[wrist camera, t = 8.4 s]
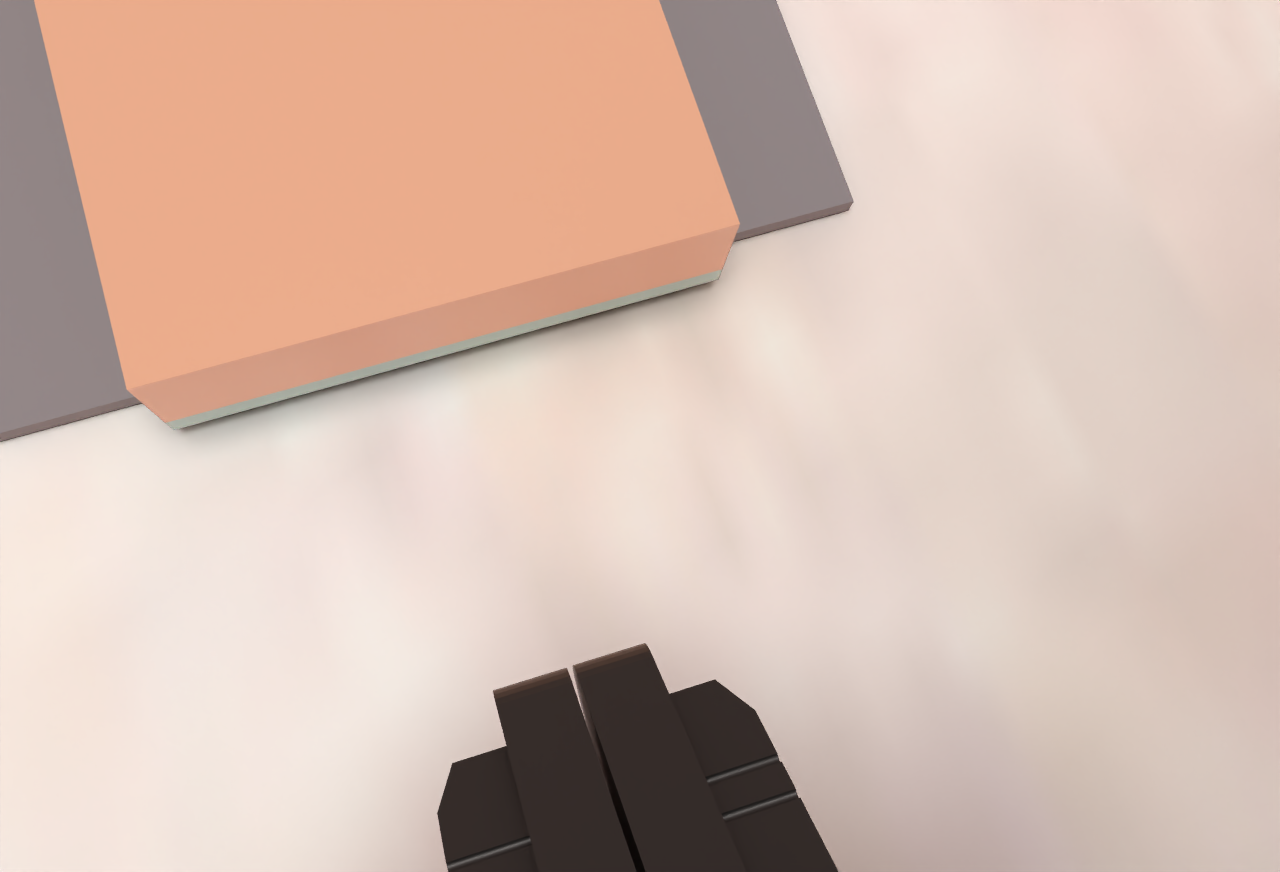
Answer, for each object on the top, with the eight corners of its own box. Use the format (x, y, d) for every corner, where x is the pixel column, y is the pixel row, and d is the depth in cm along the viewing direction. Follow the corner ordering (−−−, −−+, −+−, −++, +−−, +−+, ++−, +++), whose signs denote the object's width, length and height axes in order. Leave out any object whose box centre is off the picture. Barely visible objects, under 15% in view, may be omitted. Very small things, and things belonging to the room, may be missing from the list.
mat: (641, -329, 26) (643, -345, 26) (848, 210, 24) (853, 201, 23) (-135, -177, 24) (-147, -192, 23) (-5, 442, 21) (-15, 437, 21)
